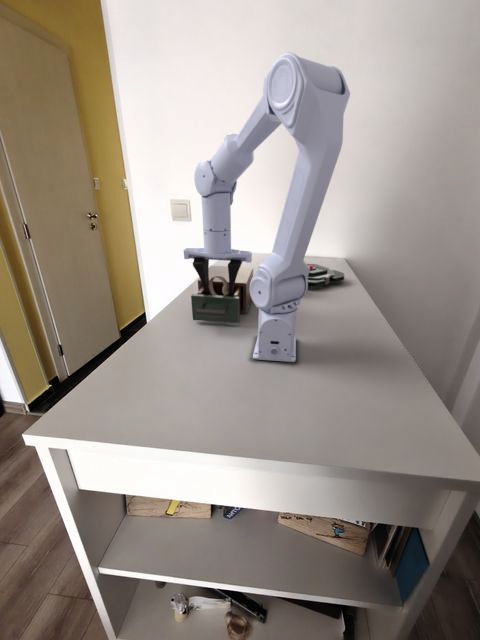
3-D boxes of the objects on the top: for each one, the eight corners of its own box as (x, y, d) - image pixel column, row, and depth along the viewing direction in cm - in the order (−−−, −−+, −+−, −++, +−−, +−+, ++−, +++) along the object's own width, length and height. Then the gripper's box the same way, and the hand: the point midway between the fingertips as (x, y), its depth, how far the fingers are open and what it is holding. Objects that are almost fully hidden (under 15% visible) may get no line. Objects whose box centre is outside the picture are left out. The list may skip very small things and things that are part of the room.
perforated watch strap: (223, 301, 74) (222, 279, 72) (206, 296, 76) (205, 275, 74) (230, 298, 76) (230, 276, 74) (214, 293, 79) (213, 273, 76)
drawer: (235, 331, 70) (235, 306, 67) (187, 328, 71) (185, 302, 68) (246, 303, 85) (246, 281, 82) (206, 300, 86) (205, 278, 83)
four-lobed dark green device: (269, 277, 108) (270, 262, 106) (309, 269, 118) (311, 256, 116) (308, 292, 96) (309, 277, 94) (349, 282, 106) (351, 268, 103)
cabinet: (246, 313, 81) (246, 283, 77) (199, 310, 82) (197, 280, 78) (252, 294, 93) (253, 267, 89) (212, 292, 94) (210, 265, 90)
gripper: (253, 227, 72) (252, 288, 79) (188, 224, 73) (192, 284, 80) (249, 233, 66) (249, 298, 73) (178, 230, 67) (184, 294, 74)
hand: (219, 291), depth 76 cm, fingers closed on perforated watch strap, 5 cm apart
